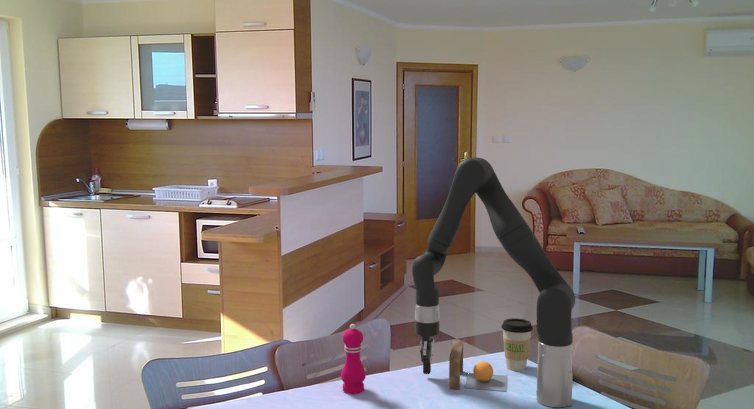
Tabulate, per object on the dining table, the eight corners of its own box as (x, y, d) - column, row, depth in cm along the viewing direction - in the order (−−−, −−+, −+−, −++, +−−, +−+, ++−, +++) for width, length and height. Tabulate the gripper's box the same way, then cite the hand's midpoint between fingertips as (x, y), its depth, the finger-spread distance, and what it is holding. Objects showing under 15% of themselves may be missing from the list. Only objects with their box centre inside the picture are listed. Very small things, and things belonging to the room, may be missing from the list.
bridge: (463, 371, 199) (463, 341, 198) (459, 390, 184) (459, 358, 183) (453, 370, 200) (453, 340, 199) (449, 389, 185) (449, 357, 184)
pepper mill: (362, 396, 181) (362, 328, 178) (338, 394, 182) (337, 326, 180) (368, 386, 188) (367, 320, 185) (344, 384, 189) (343, 319, 187)
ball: (492, 377, 194) (494, 359, 193) (492, 386, 188) (493, 366, 187) (473, 375, 195) (474, 357, 194) (472, 383, 189) (473, 364, 188)
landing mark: (506, 376, 195) (506, 375, 195) (506, 391, 183) (506, 390, 183) (467, 373, 197) (467, 372, 197) (464, 388, 186) (464, 387, 186)
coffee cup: (494, 365, 204) (495, 320, 203) (519, 360, 208) (519, 316, 207) (513, 375, 195) (514, 328, 194) (538, 370, 200) (539, 324, 198)
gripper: (437, 325, 185) (436, 382, 186) (441, 313, 197) (441, 366, 199) (411, 324, 186) (411, 380, 188) (418, 311, 199) (417, 364, 201)
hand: (426, 373), depth 194 cm, fingers closed
